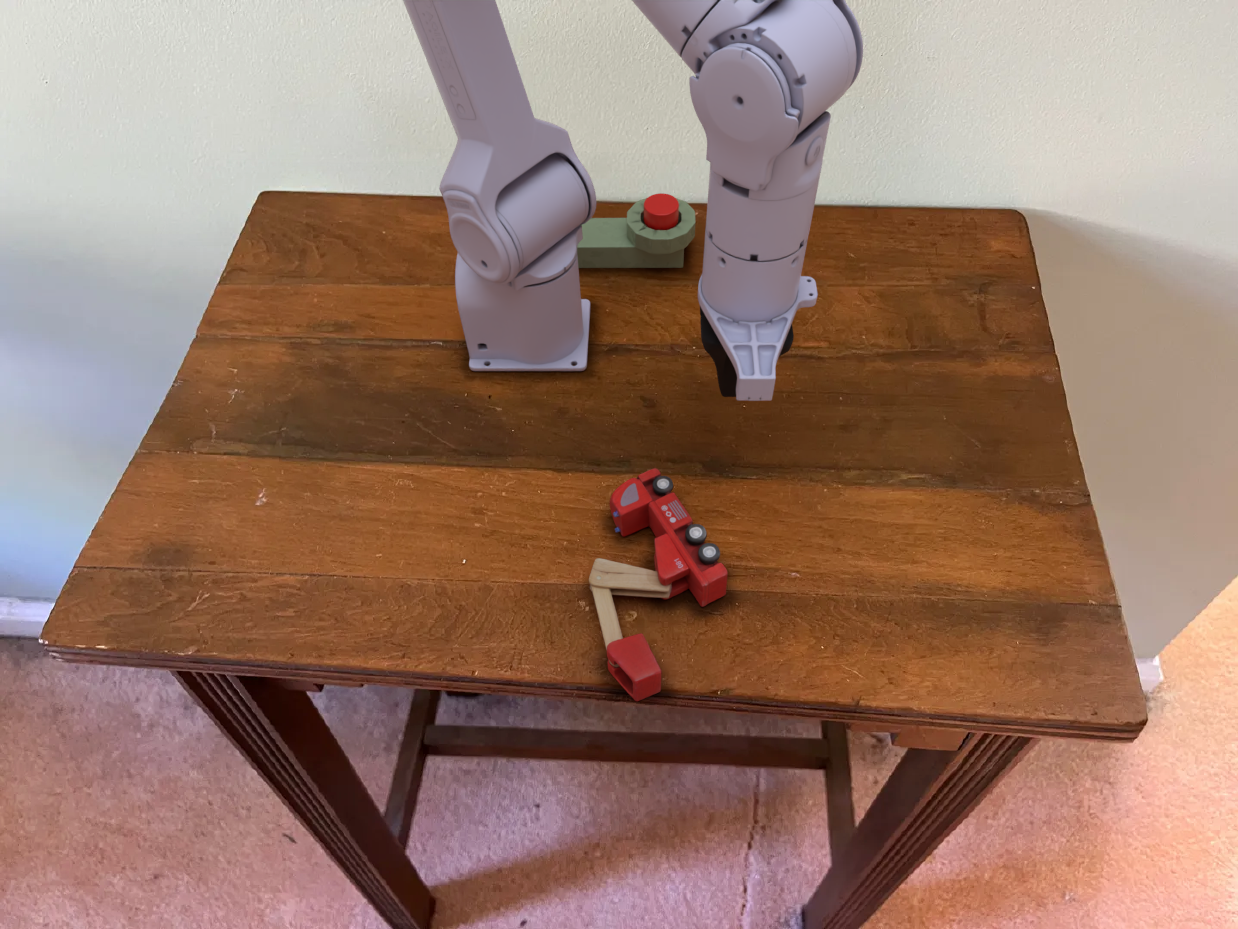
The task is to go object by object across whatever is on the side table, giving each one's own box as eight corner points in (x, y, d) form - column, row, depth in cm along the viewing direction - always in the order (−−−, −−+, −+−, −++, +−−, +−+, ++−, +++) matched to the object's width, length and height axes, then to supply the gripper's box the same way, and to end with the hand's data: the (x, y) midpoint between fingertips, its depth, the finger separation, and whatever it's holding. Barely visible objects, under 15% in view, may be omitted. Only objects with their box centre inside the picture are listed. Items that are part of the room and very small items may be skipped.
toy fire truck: (658, 458, 60) (531, 515, 58) (767, 616, 53) (627, 688, 50) (658, 485, 63) (537, 541, 61) (762, 639, 56) (629, 709, 53)
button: (643, 231, 74) (643, 215, 73) (643, 209, 76) (643, 192, 75) (678, 231, 74) (679, 214, 73) (678, 209, 76) (678, 192, 74)
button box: (570, 275, 76) (566, 239, 73) (573, 232, 80) (570, 195, 77) (694, 275, 76) (696, 238, 73) (692, 231, 80) (694, 195, 76)
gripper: (846, 320, 44) (806, 476, 55) (815, 149, 52) (785, 314, 63) (706, 320, 44) (694, 475, 55) (698, 150, 52) (689, 314, 63)
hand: (736, 389), depth 59 cm, fingers closed
